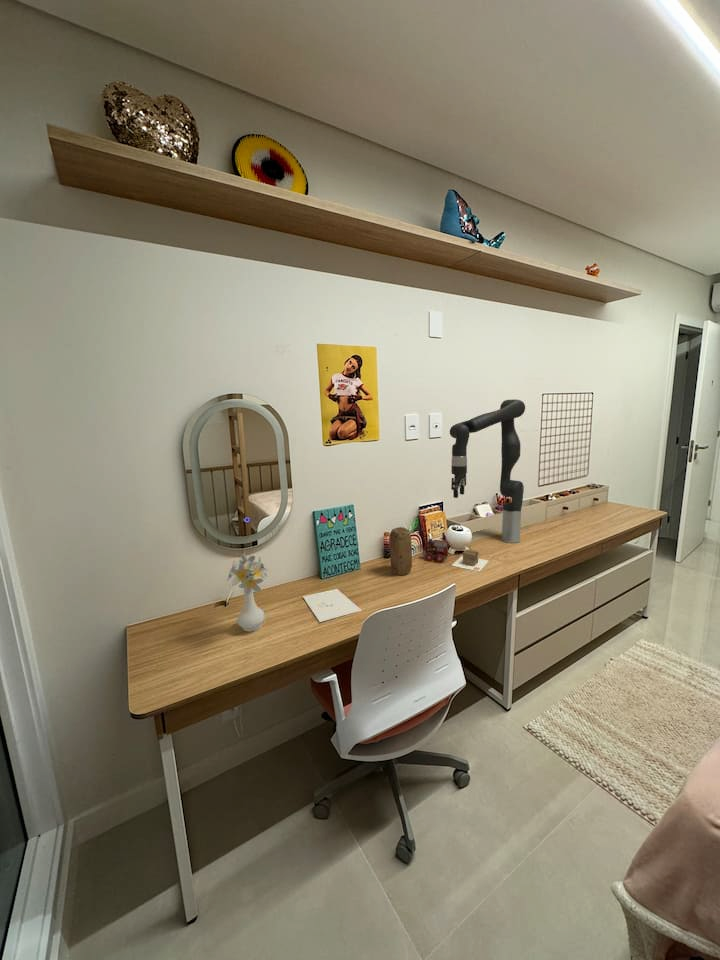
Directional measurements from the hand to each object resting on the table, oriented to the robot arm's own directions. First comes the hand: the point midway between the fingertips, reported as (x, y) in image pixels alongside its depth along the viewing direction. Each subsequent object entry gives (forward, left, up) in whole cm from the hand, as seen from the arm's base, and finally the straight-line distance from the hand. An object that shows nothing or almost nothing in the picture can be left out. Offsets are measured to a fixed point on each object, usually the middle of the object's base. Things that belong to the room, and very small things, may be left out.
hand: (458, 496), depth 189 cm
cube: (+16, +12, -28) cm, 34 cm away
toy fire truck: (+20, -4, -28) cm, 35 cm away
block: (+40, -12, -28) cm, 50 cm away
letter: (+16, +12, -28) cm, 34 cm away
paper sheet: (+75, -18, -29) cm, 82 cm away
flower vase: (+106, -33, -28) cm, 114 cm away
